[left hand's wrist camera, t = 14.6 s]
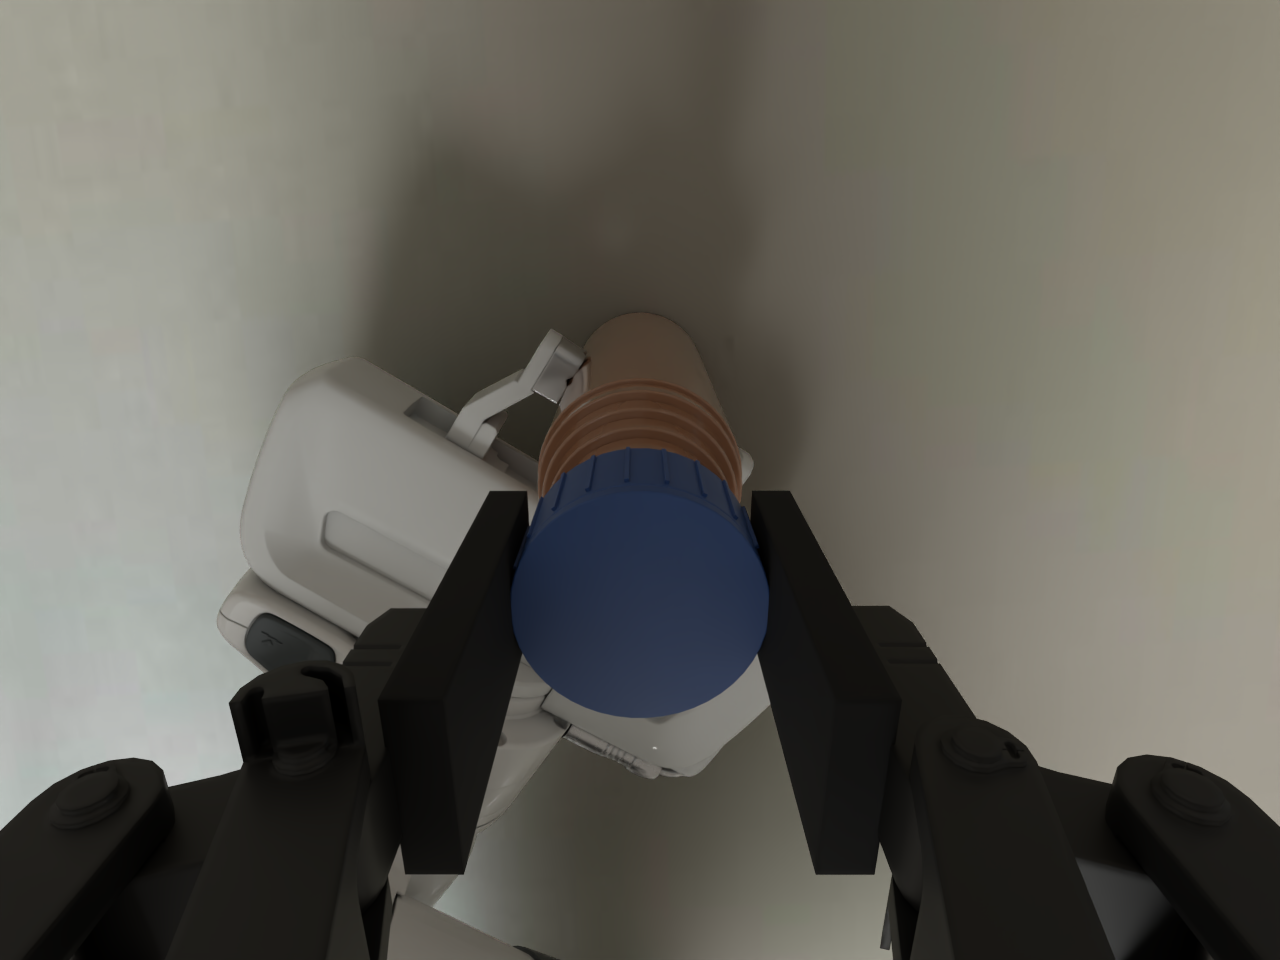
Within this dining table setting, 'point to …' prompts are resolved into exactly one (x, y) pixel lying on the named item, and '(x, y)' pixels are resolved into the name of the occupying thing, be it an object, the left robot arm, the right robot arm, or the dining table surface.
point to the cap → (639, 585)
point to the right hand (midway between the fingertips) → (653, 395)
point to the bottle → (640, 402)
